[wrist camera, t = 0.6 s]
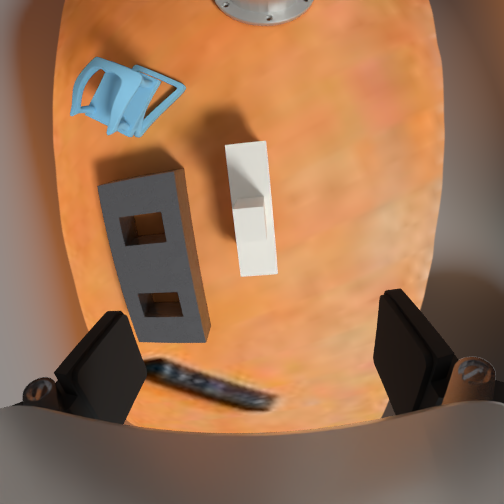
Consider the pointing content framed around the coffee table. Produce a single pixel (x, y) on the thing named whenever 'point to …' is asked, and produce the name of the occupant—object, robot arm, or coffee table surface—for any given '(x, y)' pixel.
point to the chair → (122, 96)
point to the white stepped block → (252, 207)
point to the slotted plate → (156, 257)
